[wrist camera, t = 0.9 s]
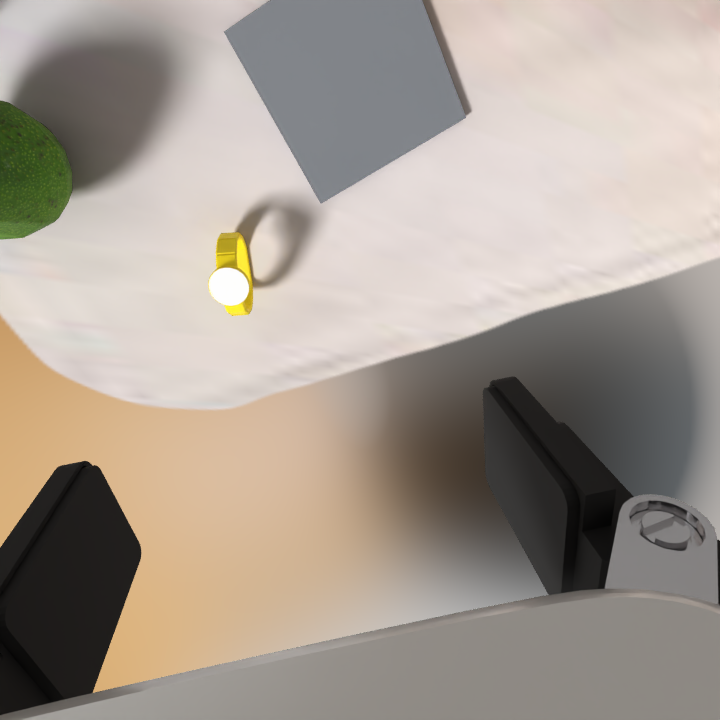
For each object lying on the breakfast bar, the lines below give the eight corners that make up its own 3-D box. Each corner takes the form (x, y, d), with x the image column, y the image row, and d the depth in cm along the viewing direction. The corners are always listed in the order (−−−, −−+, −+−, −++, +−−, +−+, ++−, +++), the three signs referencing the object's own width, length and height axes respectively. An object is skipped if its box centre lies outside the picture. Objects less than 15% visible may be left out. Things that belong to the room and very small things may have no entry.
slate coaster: (389, -79, 28) (391, -83, 27) (463, 117, 33) (466, 117, 33) (225, 33, 30) (223, 31, 29) (320, 202, 35) (320, 203, 35)
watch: (217, 229, 36) (199, 241, 30) (253, 226, 36) (241, 238, 30) (230, 303, 38) (215, 327, 33) (263, 301, 38) (254, 324, 33)
